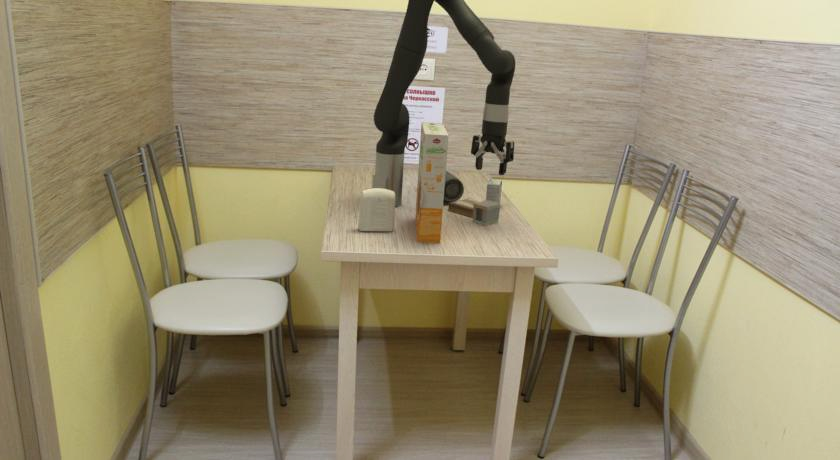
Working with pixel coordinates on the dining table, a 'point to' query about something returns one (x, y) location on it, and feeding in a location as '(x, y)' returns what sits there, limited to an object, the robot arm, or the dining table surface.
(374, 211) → the beige upright block
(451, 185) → the bluetooth speaker
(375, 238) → the dining table surface
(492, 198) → the medicine box
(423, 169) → the cereal box
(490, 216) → the steel housing
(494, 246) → the dining table surface
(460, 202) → the walnut frame
